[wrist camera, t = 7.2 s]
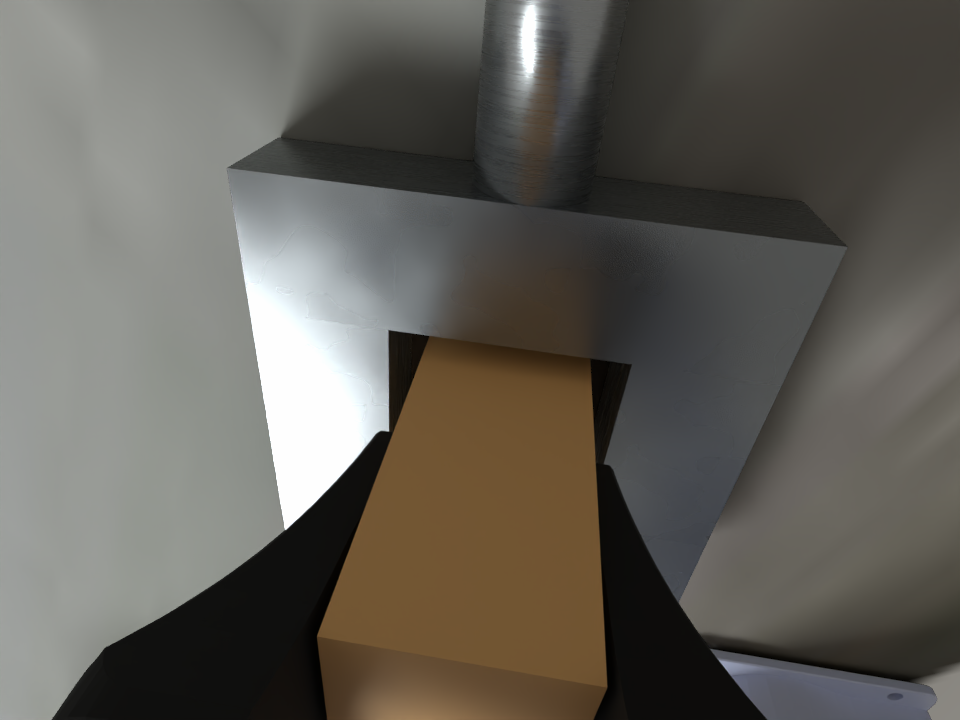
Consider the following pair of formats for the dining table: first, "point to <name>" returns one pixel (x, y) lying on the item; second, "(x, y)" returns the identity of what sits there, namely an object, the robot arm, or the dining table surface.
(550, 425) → the tan cardboard box
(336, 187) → the bracket head
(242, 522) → the dining table surface
